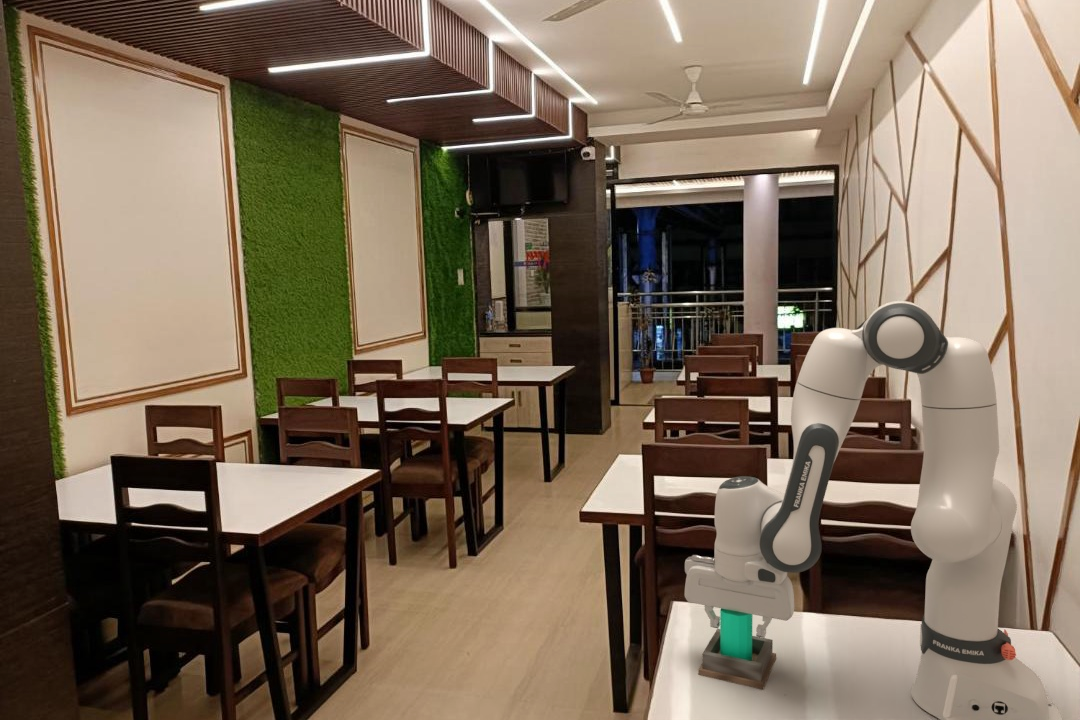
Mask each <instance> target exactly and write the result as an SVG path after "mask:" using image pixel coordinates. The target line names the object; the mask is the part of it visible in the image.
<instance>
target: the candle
mask: <svg viewBox="0 0 1080 720" xmlns="http://www.w3.org/2000/svg"><path fill="white" fill-rule="evenodd" d="M719 613H720V615H719V617H720V626H719V629H720V654H721V655H726V656H730V657H735V658H739V659H744V660H749V661H752V636H753V614H748V613H743V612H737V611H732V610H727V609H722V608H720V612H719Z"/></svg>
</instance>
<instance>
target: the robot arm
mask: <svg viewBox="0 0 1080 720" xmlns="http://www.w3.org/2000/svg"><path fill="white" fill-rule="evenodd" d="M882 365H883V366H885V367H888V368H892V369H896V370H900V371H905V372H910V373H913V374H916V375H917V377H918V380H919V386H920V387H919V388H920V397H921V398H920V401H921V414H922V432H923V436H922V437H923V458H922V466H921V467H922V468H921V473H920V480H919V487H918V488H919V489H918V497H917V504H916V508H915V512H914V515H913V517H912V520H911V523H910V533H911V536H912V540H913V541H914V544H915V546H916V547H917V548H918V549H919V550H920V551H921V552H922V553H923V554H924V555H925V556H926V557H928V558H929V559H931V563H930V566H929V569H928V570H927V573H926V578H925V594H924V595H925V596H924V597H925V599H924V615H923V617H922V619H921V624H920V632H919V647H920V651H921V654H920V660H919V665H918V669H917V673H916V676H915V680H914V682H913V684H912V686H911V689H910V695H911V697H912V699H913V701H914V702H915V704H917V705H918V706H919V707H920V709H922V710H923V711H926V713H928V714H930V715H931V716H934V717H935V718H937V719H938V720H1063V716H1062V714H1061V712H1060V710H1059V708H1058V707H1057V706H1056V704H1055V703H1054V702H1052V700H1051V699H1050V698H1048V695H1047V692H1046V688H1045V686H1044V684H1043V682H1042V680H1041V678H1040V677H1039V675H1038V674H1037V673H1036V672H1035V671H1034V670H1033V669H1031V668H1030V667H1029V666H1027V664H1024V663H1023V662H1022V661H1021V660H1020V659H1018V657H1017V654H1016V648H1015V647H1014V646H1013V645H1012V640H1011V637H1010V636H1009V633H1008V632H1007V630H1006V629H1004V631H1002V630H1001V629H999V628H998V627H999V612H1000V594H1001V587H1002V580H1003V576H1004V573H1005V567H1006V563H1007V558H1008V554H1009V547H1010V545H1011V544H1010V542H1011V538H1012V537H1011V536H1012V530H1013V525H1014V521H1015V518H1016V514H1017V507H1018V506H1017V499H1016V497H1015V495H1014V493H1013V492H1012V489H1010V488H1009V487H1008V485H1006V484H1005V483H1003V482H1002V481H1000V480H999V479H996V478H994V475H995V469H996V464H997V460H998V456H999V454H1000V453H999V452H1000V434H999V419H998V405H997V404H998V403H997V402H998V401H997V391H996V384H995V379H994V373H993V372H994V371H993V369H992V365H991V361H990V358H989V354H988V351H987V349H986V347H985V346H984V345H983V344H982V343H980V342H979V341H977V340H975V339H972V338H969V337H963V336H952V337H951V336H945V335H944V333H943V332H942V331H941V329H940V327H938V325H937V324H936V322H935V321H934V319H933V318H932V316H931V315H930V314H929V313H928V311H927V310H926V309H924V308H923V307H922V306H920V305H918V304H917V303H913V302H911V301H906V300H893V301H889V302H887V303H883V304H882V305H880V306H878V307H877V308H876V309H875V310H873V312H872V313H871V314H870V315H869V316H868V317H867V318H866V319H864V321H863V322H862V323H861V324H860V325H858V326H857V328H856V329H849V328H843V327H831V328H826V329H824V330H822V331H820V332H819V333H818V334H816V336H815V338H814V340H813V341H812V343H811V345H810V347H809V349H808V351H807V353H806V355H805V358H804V361H803V362H802V365H801V368H800V371H799V374H798V377H797V380H796V383H795V385H794V386H795V387H794V391H793V397H792V403H791V410H790V411H791V414H790V415H791V416H790V424H791V431H792V440H793V457H792V458H793V459H792V465H791V468H790V473H789V476H788V480H787V484H786V488H785V491H784V492H781V491H778V490H776V489H773V488H771V487H769V486H768V485H766V484H765V483H763V482H762V481H761V480H760V479H759V478H757V477H753V476H745V475H743V476H736V477H735V476H734V477H732V478H730V479H726V480H724V481H723V482H722V483H721V484H720V485H719V487H718V488H717V492H716V496H715V503H714V527H715V530H716V537H715V541H714V550H713V551H714V556H713V557H711V556H710V557H709V556H700V555H698V554H692V555H691V556H688V557H687V558H686V559H685V561H684V572H685V574H686V578H685V585H684V599H685V600H686V601H687V602H688V603H690V604H696V605H697V604H698V605H701V606H704V612H705V613H706V615H707V617H708V619H710V620H709V621H710V623H709V624H710V625H709V626H710V628H715V629H720V615H719V616H718V615H716V612H715V610H714V608H717V609H721V608H722V609H727V610H732V611H737V612H743V613H748V614H752V616H753V615H754V616H760V617H762V622H763V623H762V624H757V626H756V634H755V636H757V637H761V638H765V637H766V635H767V628H768V626H769V625H770V624H771V622H772V619H775V620H779V621H785V622H786V621H789V620H790V619H791V618H793V615H794V612H795V595H794V594H795V593H794V587H793V583H792V581H791V579H790V577H788V574H791V573H792V574H797V573H801V572H805V571H807V570H809V569H811V568H813V566H815V564H816V563H817V562H818V560H819V559H820V556H821V554H822V540H821V534H820V528H819V522H820V521H819V520H820V515H821V511H822V507H823V502H824V500H825V496H826V492H827V488H828V485H829V481H830V477H831V474H832V471H833V467H834V463H835V461H836V459H837V457H838V454H839V452H840V450H841V447H842V445H843V444H844V443H843V442H844V441H845V439H846V436H847V435H848V432H849V430H850V428H851V426H852V424H853V421H854V419H855V416H856V413H857V411H858V409H859V405H860V402H861V399H862V396H863V392H864V390H865V386H866V383H867V380H868V379H869V376H870V375H871V373H872V372H873V371H874V370H875V369H876V368H878V367H880V366H882Z"/></svg>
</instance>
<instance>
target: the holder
mask: <svg viewBox="0 0 1080 720" xmlns="http://www.w3.org/2000/svg"><path fill="white" fill-rule="evenodd" d="M773 648H774V647H773V639H770V638H762V637H757V636H756V635H752V661H749V660H744V659H739V658H735V657H730V656H726V655H721V654H720V628H716V630H715V632H714V633H713V635H712V637H711V638H710V640H709V642H708V643H707V645H706V647H705V648H704V650H703V651H702V654H701V655H702V657H701V659H702V662H701V664H700V666H699V667H698V670H697V671H698V673H697V674H698V675H699V676H703V677H707V678H712V679H717V680H721V681H725V682H730V683H734V684H738V685H742V686H747V687H749V688H754V687H755V689H759V690H764V688H765V686H766V684H767V681H768V678H769V676H770V674H771V671H772V669H773V667H774V665H775V662H776V659H777V653H776V652H773Z"/></svg>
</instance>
